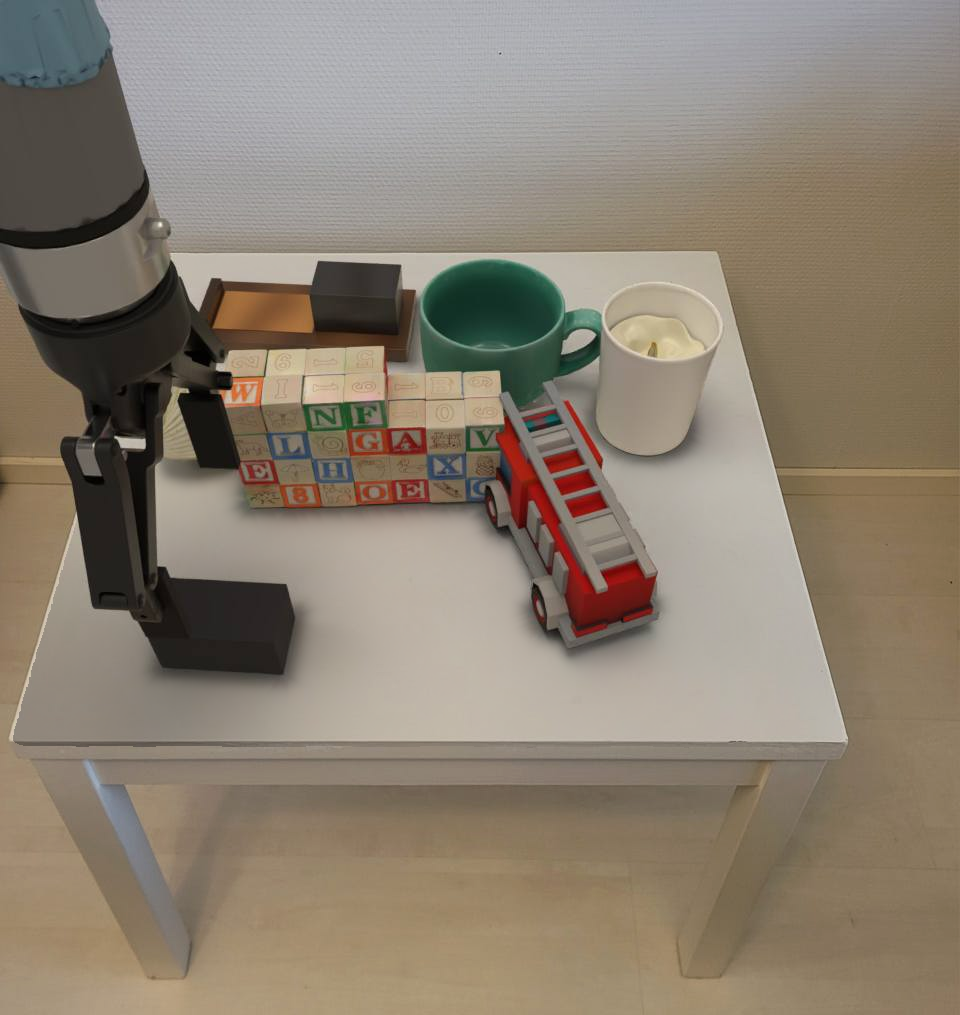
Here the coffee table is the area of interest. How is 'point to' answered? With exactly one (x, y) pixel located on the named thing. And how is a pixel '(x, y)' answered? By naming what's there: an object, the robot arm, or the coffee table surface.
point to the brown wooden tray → (316, 311)
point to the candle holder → (653, 364)
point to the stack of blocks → (359, 429)
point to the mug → (502, 326)
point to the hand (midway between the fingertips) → (196, 543)
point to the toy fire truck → (569, 525)
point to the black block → (230, 627)
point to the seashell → (176, 430)
